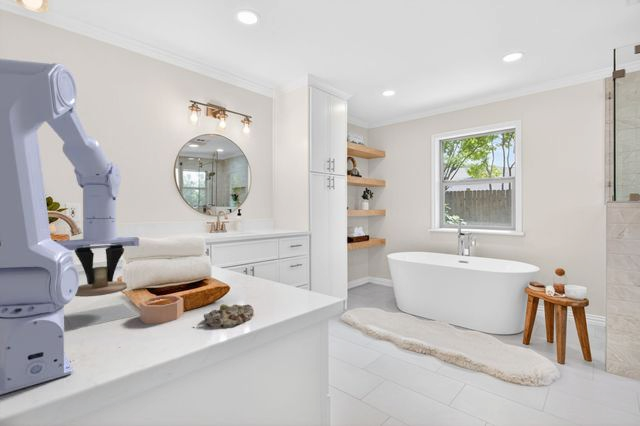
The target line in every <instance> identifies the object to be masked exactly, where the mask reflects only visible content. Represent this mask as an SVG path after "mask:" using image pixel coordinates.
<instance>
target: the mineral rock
mask: <svg viewBox="0 0 640 426" xmlns="http://www.w3.org/2000/svg"><path fill="white" fill-rule="evenodd" d="M254 312H255V311H254V308H253V307H252V305H250V304H243V305H241V304H233V305H228V304H224V303H223V304H220V307H219V309H213V310H211V311H210V312H209V313H204V314H203V319H204V322H205V324H206V325H209V326H211V327H212V328H214V329H216V328H217V329H222V328H233V327H235V326H237V325H242V324H243V323H245V322H247V321H251V319H252V318H253V316H254V315H255V313H254Z"/></svg>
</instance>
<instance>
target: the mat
mask: <svg viewBox="0 0 640 426" xmlns="http://www.w3.org/2000/svg"><path fill="white" fill-rule="evenodd" d="M137 316H138V315H137V314H136V313H135V312H134V311H133V310H131V309H130V308H129V307H127V306H126V305H125V304H124V303H121V304H116V305H110V306H105V307H100V308H94V309H90V310H84V311H78V312H72V313H67V314H64V319H65V320H66V322H67V323H68V324H69V326H70V328H71V330H77V329H82V328H87V327H90V326H96V325H101V324H105V323H109V322H114V321H119V320H123V319H129V318H133V317H137Z"/></svg>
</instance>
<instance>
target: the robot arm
mask: <svg viewBox="0 0 640 426" xmlns="http://www.w3.org/2000/svg"><path fill="white" fill-rule="evenodd" d="M77 97H78V91H77V85H76V81H75V78H74V76H73V74H72V73H71V72H70V71H69V69H68V68H67V67H66V66H65V65H64V64H62V63H58V62H57V63H56V62H54V63H48V62H36V61H26V60H25V61H24V60H17V59H16V60H15V59H6V58H4V59H3V58H0V395H1V396H2V395H3V394H8V393H10V392H15V391H17V390H20V389H23V388H28V387H31V386H34V385H38V384H42V383H45V382H48V381H52V380H54V379H57V378H61V377H64V376H69V375H71V374H73V372H74V368H73V366H72V364H71V362H70V360H69V358H68V356H67V353H66V351H65V317H64V315H65V306H66V305H68V304H69V303H70V302H71V301H72V300H73V299H74V298H75V297H76V296H75V295H76V293H77V290H78V286H80V274H79V270H78V268H77V267H76V264H75V262H74V258H73V255H72V251H74V253H75V255H76V257H77V259H78V260H79V261H80V264H81V266H82V269H83V271H84V274H85V277H86V282H87V283H86V284H89V285H90V284H93V282H94V278H93V268H94V257H95V256H94V255H95V253H94V252H93V250H95V249H105V257H106V258H105V259H106V267H108V282H112V281H114V276H115V272H116V268H117V266H118V263H119V261H120V259H121V258H122V256H123V254H124V252H125V248H124V247H138V246H140V237H139V236H125V237H122V236H121V237H119V236H118V237H117V235H116V234H117V230H116V229H117V228H116V227H117V220H116V219H117V211H116V210H117V208H116V207H117V206H116V205H117V203H116V202H117V198H118V197H119V189H120V186H121V185H120V184H121V171H120V168H119V167H118V165H116V164H114V163H113V162H110V161H109V159H108V158H107V155H106V154H105V152H104V151H103V149H102V147H101V145H100V144H99V142H98V141H97V139H96V138H95V137H93V136H90V135H88V134H87V133H86V131H85V129H84V127H83V125H82V123H81V120H80V118H79V116H78V114H77V111H76V104H77V99H78V98H77ZM45 123H47V124H48V126H50V129H52V130H53V132H55V133H56V134H57V135H58V137H59V138H60V139H61V141H62V142H63V145H62V152H63V154H64V155H65V157H66V158H67V159H68V161H69V162H70V163H71V165H72V166H73V167H74V169H73V172H74V174H75V177H76V182H77V185H78V186H79V187H80V188H82V229H83V230H82V238H81V239H70V240H56V241H55V240H53V239H52V236H51V230H50V229H51V228H50V220H49V214H48V206H47V199H46V191H45V183H44V182H45V181H44V173H43V167H42V160H41V159H42V158H41V153H40V144H39V137H38V130H39V129H40V127H42V125H43V124H45Z"/></svg>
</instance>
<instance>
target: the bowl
mask: <svg viewBox="0 0 640 426" xmlns="http://www.w3.org/2000/svg"><path fill="white" fill-rule="evenodd" d="M160 299H170V300H171V301H172V303H170V304H165V305H147V303H149V302H151V301H155V300H160ZM183 315H184V298H183V297H181V296H180V295H159V296H153V297H148V298H146V299H144V300H142V301H141V302H139V319H140V321H141V322H143V323H144V324H164V323H169V322H172V321H177V320H178V319H179V318H180V317H182V316H183Z"/></svg>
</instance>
